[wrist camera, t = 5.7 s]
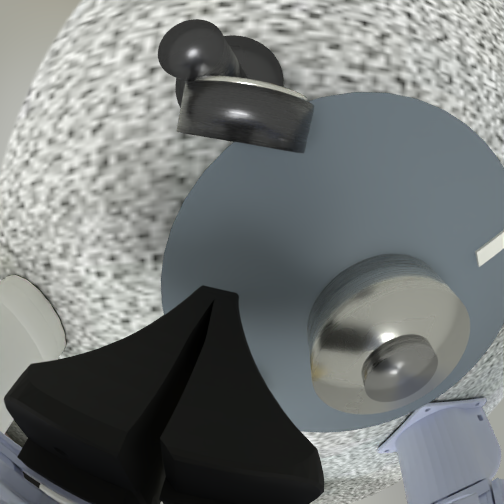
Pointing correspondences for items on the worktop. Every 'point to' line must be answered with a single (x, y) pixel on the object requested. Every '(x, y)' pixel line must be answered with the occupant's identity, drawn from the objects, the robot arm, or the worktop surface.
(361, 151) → the turntable
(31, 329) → the bottle
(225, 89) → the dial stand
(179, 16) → the worktop surface
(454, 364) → the cover
